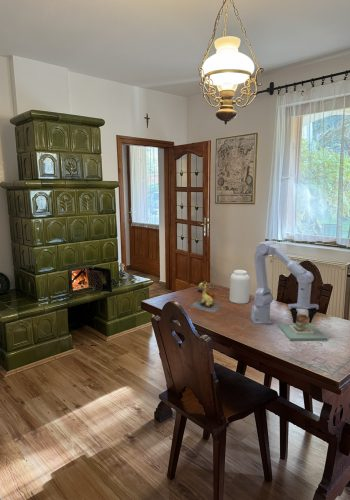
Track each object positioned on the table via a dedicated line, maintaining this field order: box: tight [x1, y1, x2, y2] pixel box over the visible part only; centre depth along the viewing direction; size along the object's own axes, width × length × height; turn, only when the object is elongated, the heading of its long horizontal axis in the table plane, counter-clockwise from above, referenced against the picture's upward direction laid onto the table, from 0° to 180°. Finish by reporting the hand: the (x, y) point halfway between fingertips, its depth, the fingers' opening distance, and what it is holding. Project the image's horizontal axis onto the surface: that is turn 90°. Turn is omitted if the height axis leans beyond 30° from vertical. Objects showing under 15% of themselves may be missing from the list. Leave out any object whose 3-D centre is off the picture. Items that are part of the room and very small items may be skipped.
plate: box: [277, 323, 329, 342], centre depth 172 cm, size 18×18×2 cm
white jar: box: [228, 269, 251, 304], centre depth 220 cm, size 12×12×20 cm
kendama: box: [197, 284, 216, 300], centre depth 235 cm, size 6×6×20 cm
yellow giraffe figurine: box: [189, 280, 224, 312], centre depth 210 cm, size 16×18×16 cm
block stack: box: [294, 313, 310, 332], centre depth 171 cm, size 5×5×8 cm
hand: (301, 322), depth 171 cm, fingers open, 7 cm apart
